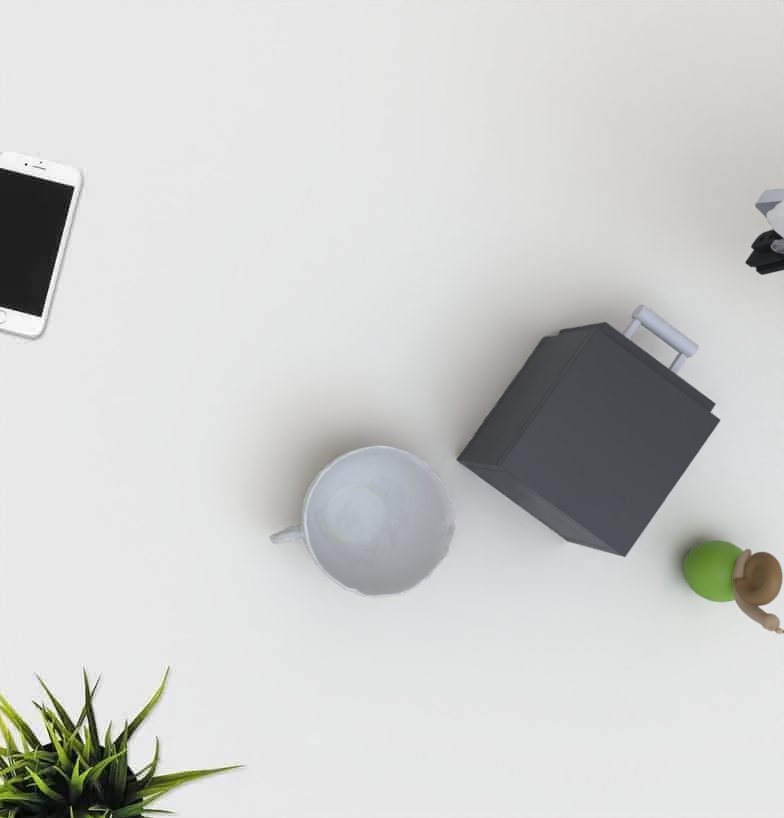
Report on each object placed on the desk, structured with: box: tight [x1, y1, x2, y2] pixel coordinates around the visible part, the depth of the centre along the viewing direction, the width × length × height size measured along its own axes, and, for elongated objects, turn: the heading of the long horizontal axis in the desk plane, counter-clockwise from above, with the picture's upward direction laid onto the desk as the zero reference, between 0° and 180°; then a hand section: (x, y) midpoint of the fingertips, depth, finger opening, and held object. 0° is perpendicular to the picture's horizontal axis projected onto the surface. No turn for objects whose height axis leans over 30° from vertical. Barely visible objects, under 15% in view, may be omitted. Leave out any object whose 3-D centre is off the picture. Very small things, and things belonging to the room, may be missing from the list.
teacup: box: [269, 445, 457, 599], centre depth 86 cm, size 15×12×8 cm
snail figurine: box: [683, 539, 784, 635], centre depth 86 cm, size 5×6×12 cm
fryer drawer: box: [557, 304, 716, 413], centre depth 86 cm, size 17×12×8 cm
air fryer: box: [456, 328, 721, 558], centre depth 86 cm, size 14×13×10 cm
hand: (763, 253), depth 80 cm, fingers closed
